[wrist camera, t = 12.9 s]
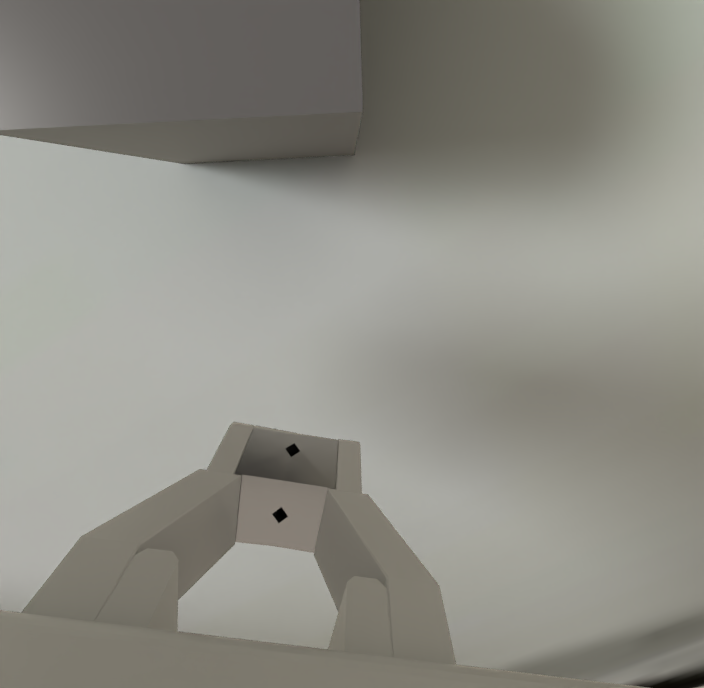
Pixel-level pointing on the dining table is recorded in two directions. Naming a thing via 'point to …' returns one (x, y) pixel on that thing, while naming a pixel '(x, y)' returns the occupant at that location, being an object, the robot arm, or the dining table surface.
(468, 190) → the dining table surface
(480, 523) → the dining table surface
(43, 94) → the grey stepped block
